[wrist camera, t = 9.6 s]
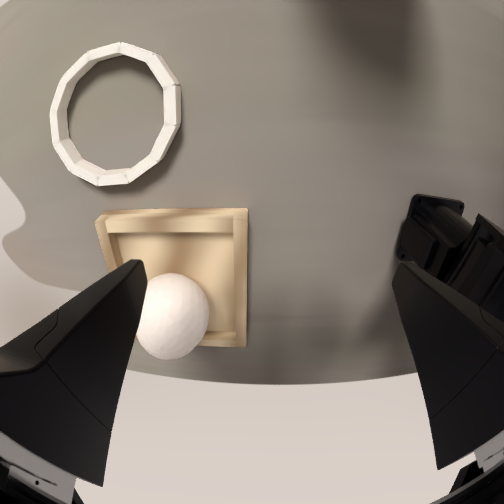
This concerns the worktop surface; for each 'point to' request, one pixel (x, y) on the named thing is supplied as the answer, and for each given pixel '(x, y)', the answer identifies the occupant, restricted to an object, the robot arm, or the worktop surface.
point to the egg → (172, 316)
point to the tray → (188, 257)
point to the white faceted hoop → (64, 95)
